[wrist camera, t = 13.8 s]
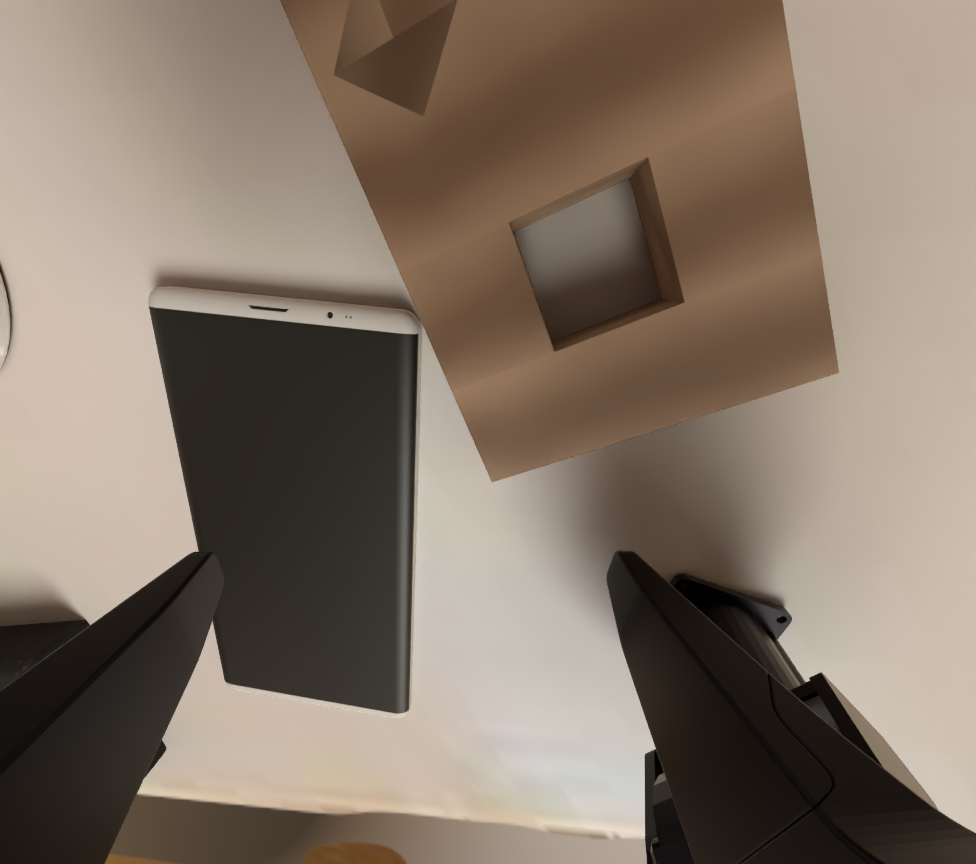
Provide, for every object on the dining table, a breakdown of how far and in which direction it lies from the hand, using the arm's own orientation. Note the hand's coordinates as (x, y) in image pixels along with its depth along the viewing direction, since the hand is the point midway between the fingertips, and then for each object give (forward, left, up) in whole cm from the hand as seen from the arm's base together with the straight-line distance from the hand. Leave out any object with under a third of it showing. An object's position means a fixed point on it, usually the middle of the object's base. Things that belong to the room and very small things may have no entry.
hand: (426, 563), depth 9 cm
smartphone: (+8, +11, -13) cm, 19 cm away
